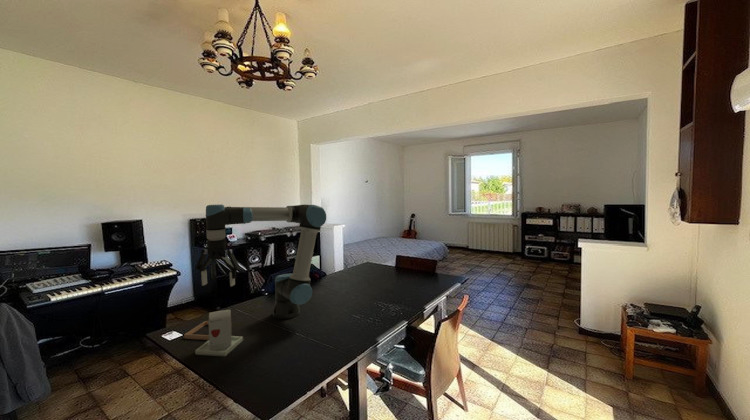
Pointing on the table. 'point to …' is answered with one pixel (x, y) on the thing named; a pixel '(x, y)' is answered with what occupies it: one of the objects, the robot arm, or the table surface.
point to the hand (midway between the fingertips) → (218, 285)
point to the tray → (205, 350)
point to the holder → (190, 334)
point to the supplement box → (220, 330)
